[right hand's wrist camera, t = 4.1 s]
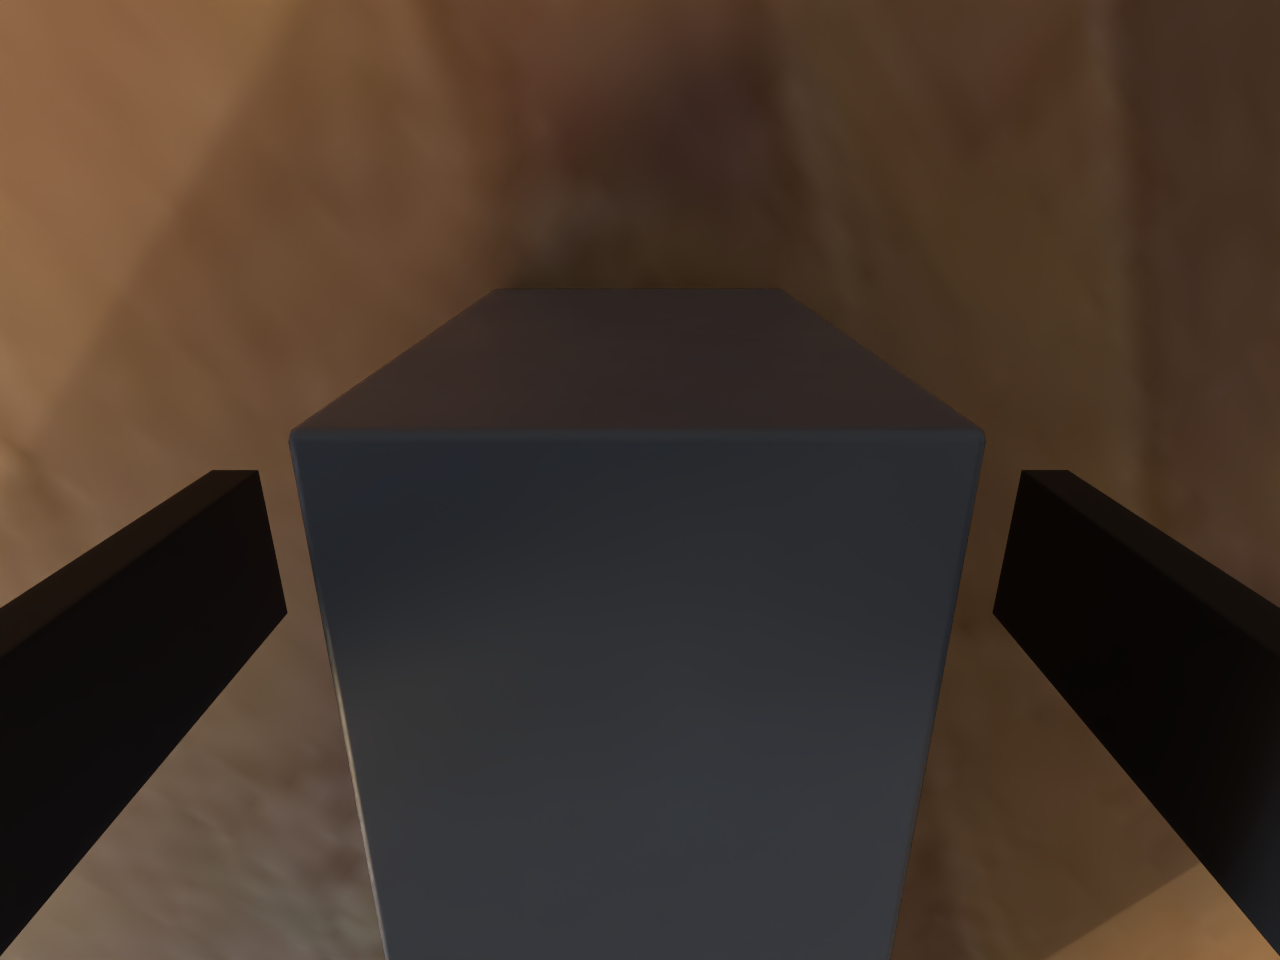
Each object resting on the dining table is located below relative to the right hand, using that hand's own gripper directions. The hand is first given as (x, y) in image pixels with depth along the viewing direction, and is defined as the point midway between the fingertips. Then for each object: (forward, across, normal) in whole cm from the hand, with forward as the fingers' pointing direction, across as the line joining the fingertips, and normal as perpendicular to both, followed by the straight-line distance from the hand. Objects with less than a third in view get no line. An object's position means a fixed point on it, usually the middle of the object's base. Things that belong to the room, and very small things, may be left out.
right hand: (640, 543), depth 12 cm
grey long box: (+2, 0, -9) cm, 9 cm away
